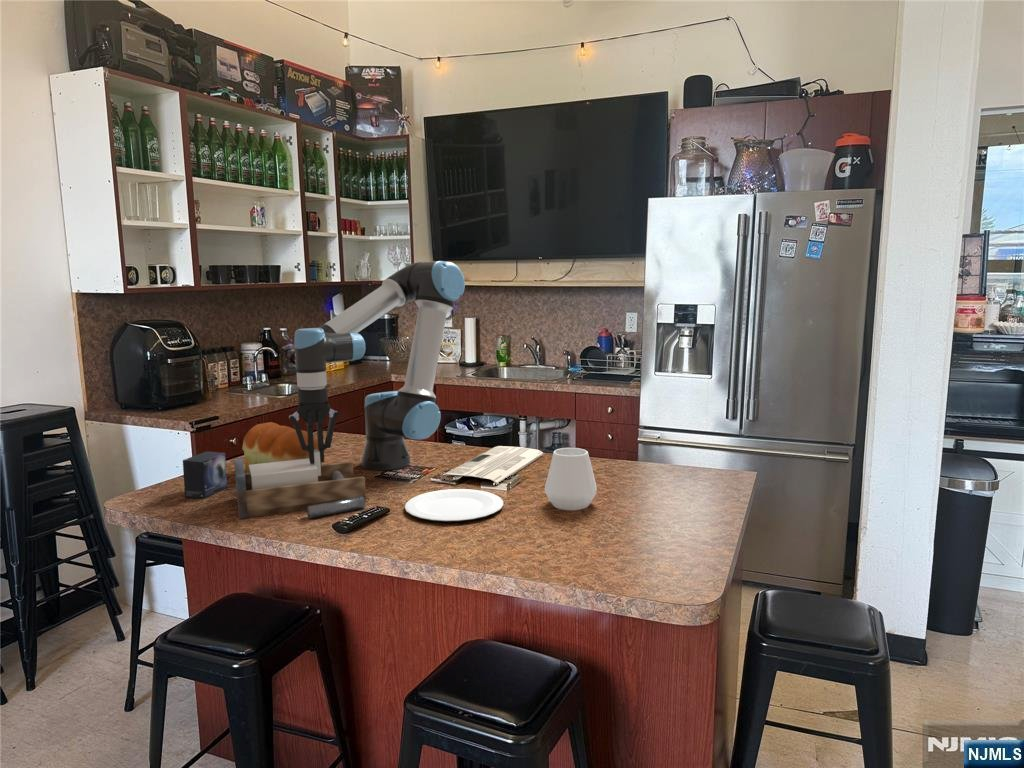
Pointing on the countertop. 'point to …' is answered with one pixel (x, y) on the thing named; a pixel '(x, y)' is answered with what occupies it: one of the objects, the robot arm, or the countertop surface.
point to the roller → (335, 507)
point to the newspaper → (496, 463)
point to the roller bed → (297, 491)
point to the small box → (204, 474)
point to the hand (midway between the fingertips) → (317, 474)
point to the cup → (570, 479)
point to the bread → (273, 444)
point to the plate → (454, 505)
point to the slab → (282, 473)
